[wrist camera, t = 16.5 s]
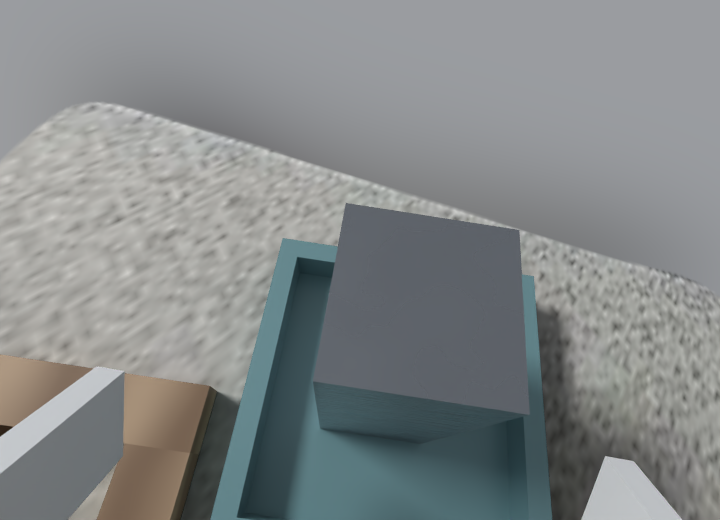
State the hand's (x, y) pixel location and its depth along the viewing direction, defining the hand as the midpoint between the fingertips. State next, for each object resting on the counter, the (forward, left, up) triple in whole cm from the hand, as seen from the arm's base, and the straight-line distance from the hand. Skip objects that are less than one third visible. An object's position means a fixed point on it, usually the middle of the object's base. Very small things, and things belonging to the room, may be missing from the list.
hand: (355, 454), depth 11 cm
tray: (-2, -3, -10) cm, 11 cm away
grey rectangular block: (-1, -4, -9) cm, 10 cm away
